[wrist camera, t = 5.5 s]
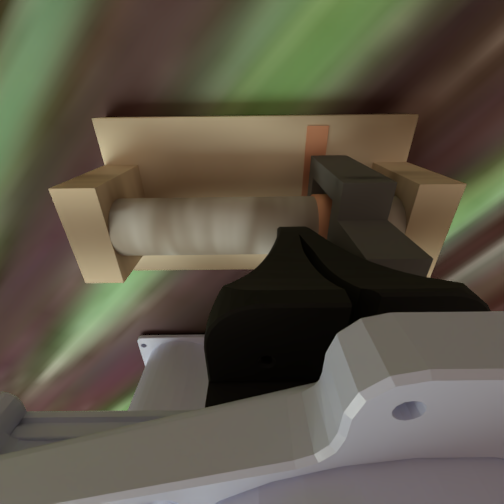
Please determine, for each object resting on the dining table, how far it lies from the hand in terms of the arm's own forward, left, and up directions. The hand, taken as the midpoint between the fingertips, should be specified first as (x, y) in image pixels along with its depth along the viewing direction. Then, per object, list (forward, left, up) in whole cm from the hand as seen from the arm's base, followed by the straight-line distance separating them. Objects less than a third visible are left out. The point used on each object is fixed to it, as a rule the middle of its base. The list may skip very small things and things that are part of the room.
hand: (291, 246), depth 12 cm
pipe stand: (0, +2, -7) cm, 8 cm away
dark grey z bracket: (0, -3, -5) cm, 6 cm away
